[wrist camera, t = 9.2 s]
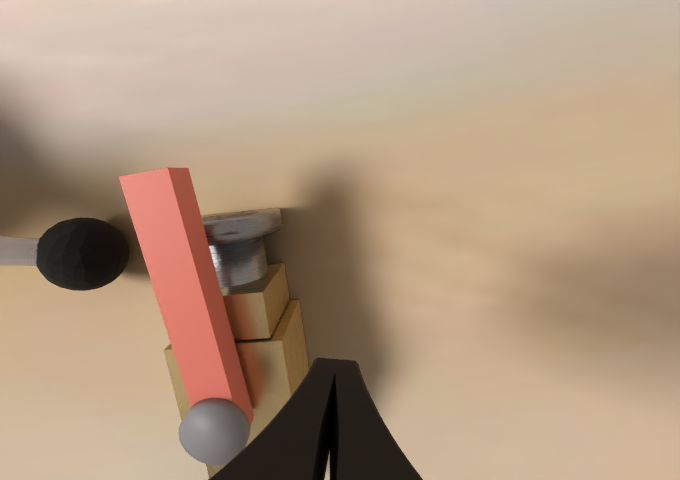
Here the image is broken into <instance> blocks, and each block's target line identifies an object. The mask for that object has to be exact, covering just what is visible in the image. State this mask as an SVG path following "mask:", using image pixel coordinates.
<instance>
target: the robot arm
mask: <svg viewBox="0 0 680 480" xmlns="http://www.w3.org/2000/svg"><path fill="white" fill-rule="evenodd" d="M329 449H330V480H423V479H422V478H421V477H420V475H419V474H418V473H417V471H416V470H415V469H414V467H413V466H412V465H411V463H410V462H409V460H408V459H407V458H406V456H405V455H404V453H403V452H402V450H401V449H400V447H399V446H398V444H397V443H396V441H395V440H394V438H393V437H392V435H391V433H390V432H389V430H388V428H387V427H386V425H385V423H384V421H383V420H382V418H381V416H380V414H379V412H378V410H377V408H376V406H375V404H374V402H373V401H372V399H371V397H370V394H369V392H368V390H367V388H366V385H365V383H364V381H363V378H362V375H361V372H360V369H359V365H358V363H357V362H356V361H350V360H338V359H326V358H317V359H316V360H314V362H313V364H312V366H311V368H310V369H309V371H308V373H307V374H306V376H305V377H304V379H303V381H302V382H301V384H300V385H299V386H298V388H297V389H296V390H295V392H294V393H293V394H292V396H291V397H290V399H289V400H288V401H287V402H286V404H285V405H284V406H283V407H282V408H281V410H280V411H279V412H278V413H277V414H276V416H275V417H274V418H273V419H272V420H271V421H270V423H269V424H268V425H267V426H266V427H265V428H264V429H263V430H262V431H261V432H260V433H259V434H258V435H257V436H256V437H255V438H254V439H253V440H252V441H251V442H250V443H249V444H248V445H247V446H246V447H245V448H244V449H243V450H242V451H241V452H240V453H239V454H237V455H236V456H235V457H234V458H233V459H232V460H231V461H230V462H229V463H228V464H226V465H225V466H224V467H223V468H222V469H221V470H219V471H218V472H217V473H216V474H215V475H213V476H212V477H211V478H210V479H208V480H324V478H325V472H326V466H327V461H328V455H329Z"/></svg>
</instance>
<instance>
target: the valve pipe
mask: <svg viewBox="0 0 680 480" xmlns="http://www.w3.org/2000/svg"><path fill="white" fill-rule="evenodd" d="M201 218H202V222H203V226H204V230H205V233H206V237H207V241H208V245H209V248H210V252H211V256H212V260H213V263H214V267H215V271H216V275H217V278H218V282H219V286H220V290H221V293H222V297H223V301H224V305H225V308H226V312H227V316H228V320H229V323H230V327H231V331H232V335H233V339H234V342H235V346H236V350H237V354H238V357H239V361H240V365H241V369H242V372H243V376H244V380H245V384H246V387H247V391H248V395H249V399H250V402H251V406H252V410H253V414H254V419H253V421H252V424H251V426H250V427H251V431H250V436H249V439H248V441H247V444H246V446H247V445H248V444H249V443H250V442H251V441H252V440H253V439H254V438H255V437H256V436H257V435H258V434H259V433H260V432H261V431H262V430H263V429H264V428H265V427H266V426H267V425H268V424H269V423H270V421H271V420H272V419H273V418H274V417H275V416H276V414H277V413H278V412H279V411H280V410H281V408H282V407H283V406H284V405H285V404H286V402H287V401H288V400H289V399H290V397H291V396H292V394H293V393H294V392H295V390H296V389H297V388H298V386H299V385H300V384H301V382H302V381H303V379H304V377H305V376H306V374H307V373H308V371H309V364H308V357H307V350H306V343H305V336H304V329H303V323H302V316H301V309H300V302H299V300H289V299H290V297H289V291H288V284H287V278H286V271H285V265H284V263H281V264H271V265H267V260H266V254H265V248H264V242H263V236H264V235H267V234H270V233H273V232H275V231H278V230H280V229H281V228H282V227H283V226H282V219H281V212H280V209H279V208H269V209H259V210H250V211H241V212H231V213H222V214H212V215H203V216H201ZM164 353H165V357H166V361H167V365H168V368H169V372H170V376H171V380H172V384H173V388H174V392H175V396H176V400H177V404H178V408H179V412H180V416H181V420H183V418H184V417H185V415H186V414H187V412H188V411H189V410H190V408H191V406H190V403H189V400H188V397H187V394H186V391H185V387H184V384H183V381H182V378H181V375H180V371H179V368H178V365H177V362H176V359H175V355H174V352H173V349H172V346H171V344H170V345H169V346H167V347H166V348H165V349H164ZM246 446H245V447H246ZM227 464H228V463H227ZM225 465H226V464H223V465H211V464H206V466H207V470H208V474H209V478H211V477H212V476H213V475H215V474H216V473H217V472H218V471H219V470H221V469H222V468H223V467H224V466H225Z"/></svg>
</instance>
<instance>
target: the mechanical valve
mask: <svg viewBox="0 0 680 480" xmlns="http://www.w3.org/2000/svg"><path fill="white" fill-rule="evenodd" d="M128 258H129V248H128V245H127V242H126V240H125V238H124V237H123V235H122V233H121V232H120V231H119V230H118V229H116V228H115V227H113V226H112V225H110V224H108V223H106V222H104V221H101V220H98V219H93V218H75V219H70V220H66V221H62V222H59V223H57V224H56V225H54V226H53V227H51V228H50V229H48V230H47V231H46V232H45V233H44V234H43V236H42V237H41V238H40V239H36V238H19V237H2V236H0V265H29V266H37V267H38V269H39V270H40V272H41V273H42V274H43V276H44V277H45V278H46V279H47V280H48V281H50V282H51V283H53V284H55V285H57V286H59V287H62V288H66V289H70V290H82V291H85V290H92V289H96V288H100V287H103V286H105V285H107V284H109V283H111V282H112V281H114V280H115V279H116V278H117V277H118V276H119V275H120V274H121V273H122V272H123V270H124V268H125V266H126V264H127V262H128Z"/></svg>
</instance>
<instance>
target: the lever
mask: <svg viewBox="0 0 680 480" xmlns="http://www.w3.org/2000/svg"><path fill="white" fill-rule="evenodd" d="M119 180H120V183H121V186H122V190H123V193H124V196H125V199H126V202H127V206H128V209H129V212H130V215H131V218H132V222H133V225H134V228H135V231H136V234H137V237H138V241H139V244H140V247H141V250H142V253H143V257H144V260H145V263H146V266H147V269H148V273H149V276H150V279H151V282H152V285H153V288H154V292H155V295H156V298H157V301H158V304H159V308H160V311H161V314H162V317H163V320H164V324H165V327H166V330H167V333H168V336H169V340H170V343H171V346H172V349H173V352H174V355H175V359H176V362H177V365H178V368H179V371H180V375H181V378H182V381H183V384H184V387H185V391H186V394H187V397H188V400H189V403H190V406H191V408H190V410H189V411H188V412H187V414H186V415H185V417H184V418H183V420H182V422H181V424H180V427H179V439H180V442H181V444H182V446H183V448H184V449H185V450H186V452H187V453H188V454H189V455H191V456H192V457H193V458H195V459H196V460H198V461H200V462H203V463H206V464H211V465H223V464H227V463H229V462H230V461H231V460H232V459H233V458H234V457H235V456H236V455H237V454H239V453H240V452H241V451H242V450H243V449H244V448H245V446H246V444H247V441H248V439H249V436H250V431H251V427H250V426H251V424H252V421H253V419H254V414H253V410H252V406H251V402H250V399H249V395H248V391H247V387H246V384H245V380H244V376H243V372H242V369H241V365H240V361H239V357H238V354H237V350H236V346H235V342H234V339H233V335H232V331H231V327H230V323H229V320H228V316H227V312H226V308H225V305H224V301H223V297H222V293H221V290H220V286H219V282H218V278H217V275H216V271H215V267H214V263H213V260H212V256H211V252H210V248H209V245H208V241H207V237H206V233H205V230H204V226H203V222H202V218H201V215H200V211H199V207H198V203H197V200H196V196H195V192H194V188H193V184H192V181H191V177H190V173H189V169H188V168H164V169H158V170H153V171H147V172H142V173H136V174H131V175H126V176H120V177H119Z"/></svg>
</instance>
